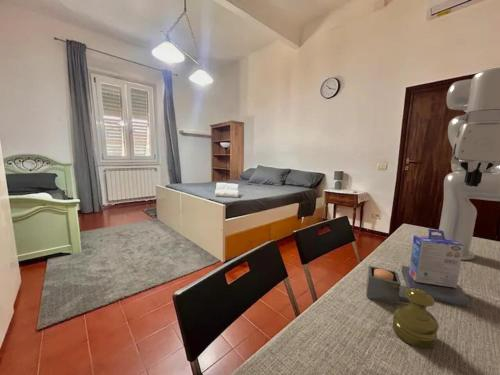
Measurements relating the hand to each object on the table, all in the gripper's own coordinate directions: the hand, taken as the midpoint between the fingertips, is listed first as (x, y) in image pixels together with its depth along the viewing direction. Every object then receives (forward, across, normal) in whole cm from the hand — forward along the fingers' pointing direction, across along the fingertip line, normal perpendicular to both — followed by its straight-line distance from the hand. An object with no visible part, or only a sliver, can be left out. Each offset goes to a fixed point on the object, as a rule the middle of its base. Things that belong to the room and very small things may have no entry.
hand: (471, 185), depth 63 cm
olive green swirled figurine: (+29, -16, -32) cm, 46 cm away
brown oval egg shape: (+28, -21, -20) cm, 40 cm away
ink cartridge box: (+27, -8, -9) cm, 30 cm away
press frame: (+29, -13, -13) cm, 34 cm away
